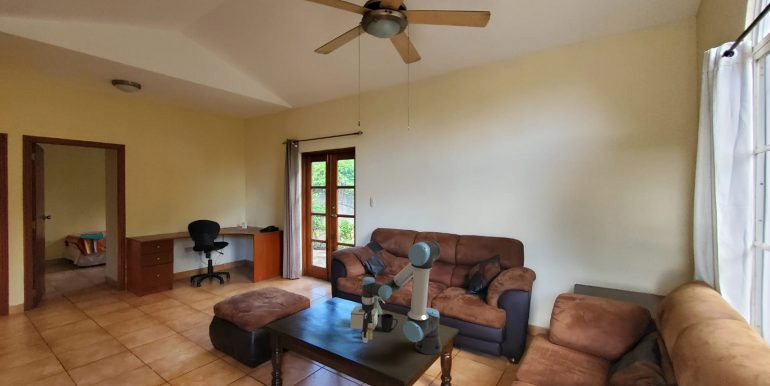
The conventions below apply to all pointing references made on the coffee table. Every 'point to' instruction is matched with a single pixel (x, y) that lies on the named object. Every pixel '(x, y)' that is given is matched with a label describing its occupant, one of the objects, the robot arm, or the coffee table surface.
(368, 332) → the tall tan block
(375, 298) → the character figurine
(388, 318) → the mug
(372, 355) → the coffee table surface
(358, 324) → the box
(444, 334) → the coffee table surface
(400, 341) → the coffee table surface
